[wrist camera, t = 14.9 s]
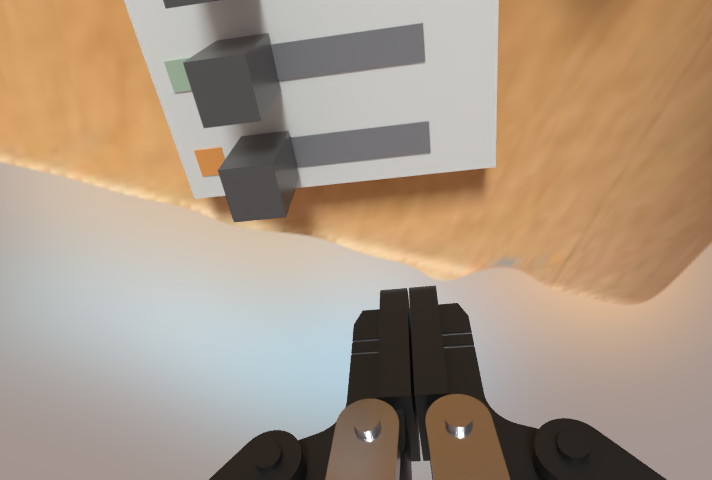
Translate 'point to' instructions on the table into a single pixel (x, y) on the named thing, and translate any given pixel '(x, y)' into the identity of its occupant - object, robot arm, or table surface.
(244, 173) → the block
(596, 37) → the table surface
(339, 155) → the breaker panel
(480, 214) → the table surface
